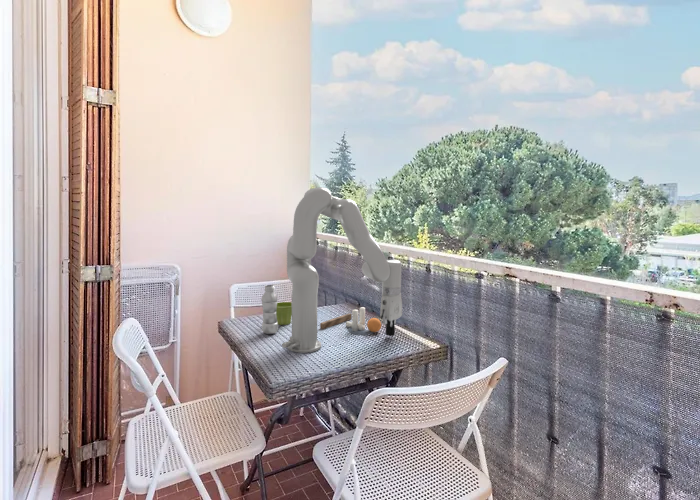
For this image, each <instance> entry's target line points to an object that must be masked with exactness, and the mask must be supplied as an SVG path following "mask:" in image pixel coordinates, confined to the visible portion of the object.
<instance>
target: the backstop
mask: <svg viewBox="0 0 700 500" xmlns="http://www.w3.org/2000/svg"><path fill="white" fill-rule="evenodd" d="M350 320H352V313H345V314H343V315H340V316H337V317H334V318H331V319H328V320H326V321H323V322H320V323H319V328H320V330H325V329H328V328H331V327H333V326H335V325H339V324H341V323H344V322H345V323H346V322H347V321H350Z"/></svg>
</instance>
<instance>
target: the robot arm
mask: <svg viewBox="0 0 700 500" xmlns="http://www.w3.org/2000/svg"><path fill="white" fill-rule="evenodd" d="M320 215H322V216H324V217H327V218H330V219H333V220H336V221H339V223H340V225H341V227H342V229H343V231H344V234H345V235H346V238H347V240H348V242H349V243H350V245H351V246H352V247H353V249H355V250H356V252H358V253H359V254H360V255H361V256H362V258H363V259H364V261H365V262H363V263H362V266H361V271H362V274H363V276H365V277H366V278H368V279H370V280H373V281H375V282H377V283H381V300H380V307H379V308H380V309H379V310H380V312H379V315H380V316H379V317H380V319H382V320H381V324H385V335H386V336H388V337H389V336H390V337H393V336H395V335H396V333H395V331H396V330H395V329H396V327H395V326H396V325H397V324H396V323H397V320H398V319H400V318H401V317H403V300H402V299H403V298H402V292H401V291H402V262H401V261H400V260H398V259H397V260H396V259H387V258H386V256H385V254H384V252H383V251H382V249H381V247H380V246H379V245H378V243H377V241H376V239H374V237H373V236H372V234H371V232H370V231H369V228H368V226H367V224H366V222H365V220H364V217H363V216H362V212H361V211H360V208H359V207H358V205H357V203H356V202H355V201H354V200H353V199H349V198H340V197H337V196H333V195H332V193H331V191H330V190H329V189H328V188H325V187H321V186H319V187H315V188H310V189H308V190H307V191H306V192H305V193H304V194H303V197H302V198H301V199H300V201H299V202H298V204H297V206H296V207H295V211H294V215H293V225H292V226H293V227H292V232H293V233H292V235H291V236H290V237H289V239H288V240H287V244H286V245H287V246H286V274H287V278H288V279H289V281H290V282H291V283H292V284H291V285H292V288H291V289H292V290H291V303H292V316H291V336H290V337H289V339H288V341H285V342H282V343H281V346H282V348H283V349H286V348H287V349H288V350H289V351H291V352H293V353H300V354H301V353H302V354H306V353H307V354H308V353H313V352H316V351H318V350H320V349H321V348H322V342H321V341H320V340H318V296H319V295H318V294H319V293H318V291H319V284H320V277H319V273H318V271H317V269H316V268H315V267H314V266H313V265H312V259H313V258H314V257H315V256H316V253H317V251H318V250H317V249H318V246H317V241H318V240H317V234H318V233H317V231H318V230H317V228H318V220H319V216H320Z"/></svg>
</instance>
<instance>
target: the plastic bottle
mask: <svg viewBox="0 0 700 500" xmlns="http://www.w3.org/2000/svg"><path fill="white" fill-rule="evenodd" d="M278 300H279V299H278V296H277V294H276V292H275V286H274V285H273V284H268V285H265V286H264V293H263V294H262V296H261V306H262V325H261V331H262V332H263V333H264V334H265V335H273V334H274V335H275V334H276V333H277V332H278V331H279V324H278V323H277V315H276V310H277V303H278Z"/></svg>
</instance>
